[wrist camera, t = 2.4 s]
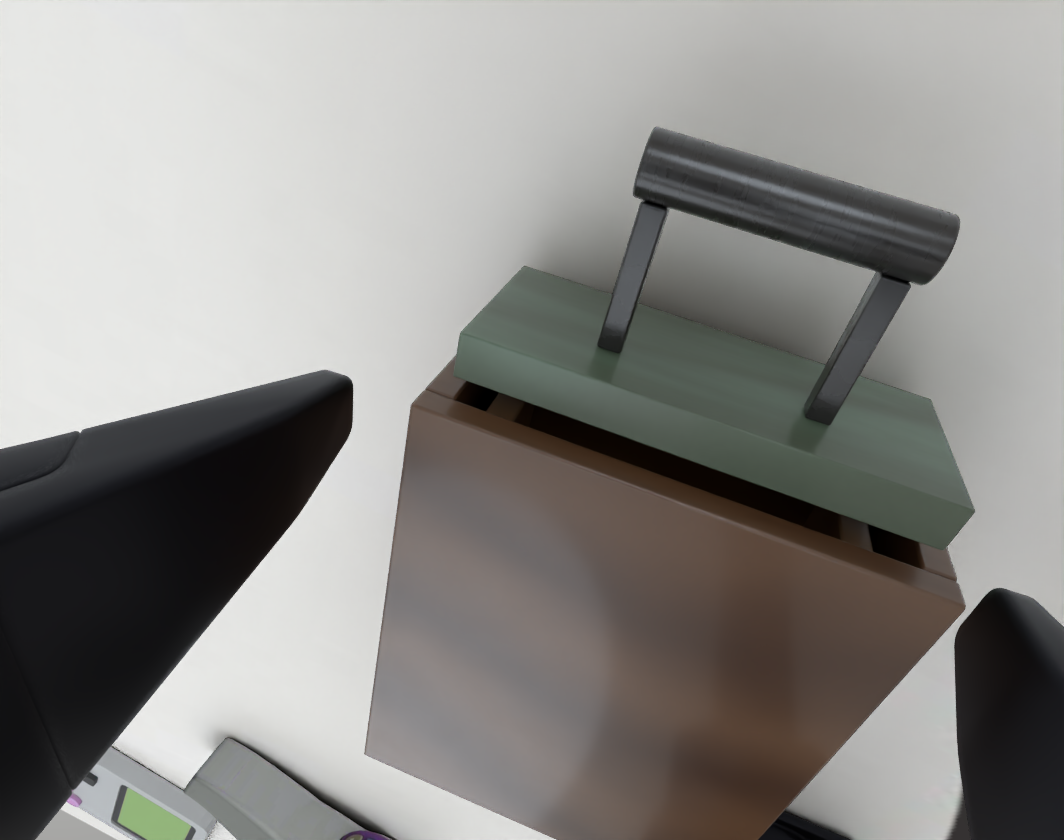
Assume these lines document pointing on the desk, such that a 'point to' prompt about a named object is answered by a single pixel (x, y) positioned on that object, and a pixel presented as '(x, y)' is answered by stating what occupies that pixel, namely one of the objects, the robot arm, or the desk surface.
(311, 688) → the desk surface
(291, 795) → the infrared thermometer
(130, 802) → the handheld gaming console
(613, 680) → the drawer unit
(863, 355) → the drawer
